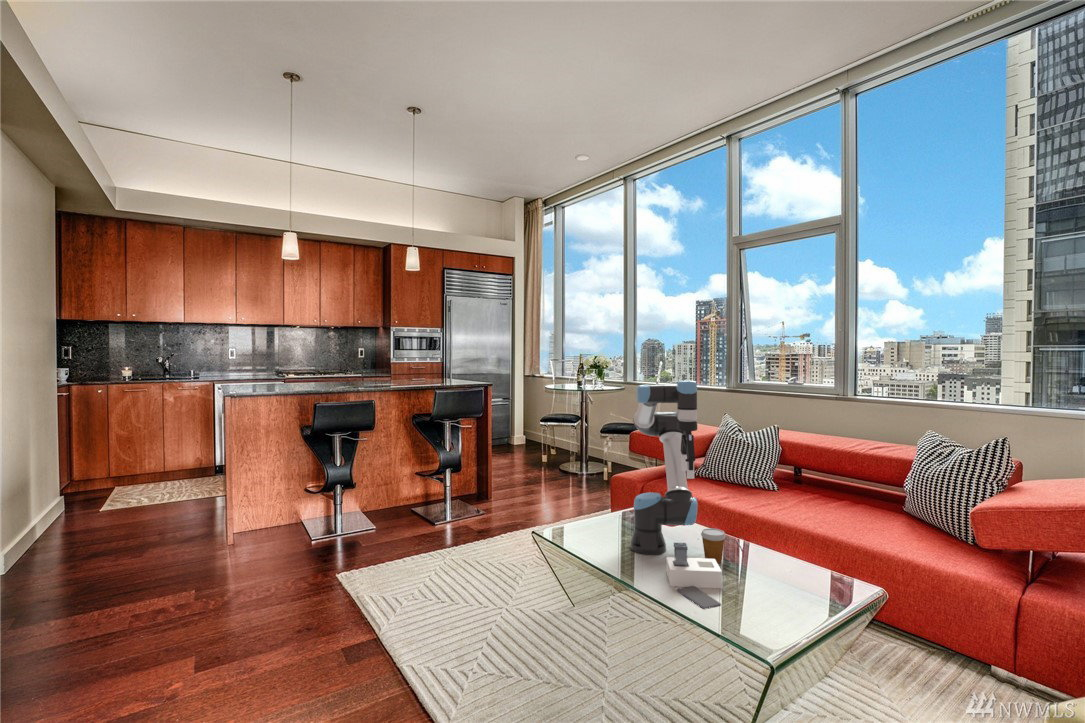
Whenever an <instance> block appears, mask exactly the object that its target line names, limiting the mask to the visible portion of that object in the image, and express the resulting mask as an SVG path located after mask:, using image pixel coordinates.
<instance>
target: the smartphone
mask: <svg viewBox="0 0 1085 723" xmlns="http://www.w3.org/2000/svg"><path fill="white" fill-rule="evenodd" d="M676 591H678V592H677V593H679V594H681V595H682V597H684V598H686V599H688V600H689V601H690V600H691V602H692V601H693V602H694V603H693V602H692V603H693V604H695V605H696V604H697V606H698V605H699V606H700V608H701V607H702V608H708V609H710V608H709V607H712V608H716V607H721V606H722V603H721V602H719V601H717V600H716V599H715V598H713V597H712V596H710V595H708V594H707V593H706V592H704V591H702V589H701V590H700V589H699V587H695V586H689V587H680V588H679V587H678V588H677V589H676ZM699 606H698V607H699ZM702 608H701V609H702Z"/></svg>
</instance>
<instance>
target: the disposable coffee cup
mask: <svg viewBox="0 0 1085 723" xmlns="http://www.w3.org/2000/svg"><path fill="white" fill-rule="evenodd" d="M700 536H701V539H702V545H703V546H702V547H703V552H704V554H703V555H704V558H708V559H715V560H716V562H717V564H718V565H720V564H722V561H723V553H724V546H725V545H724V544H725V539H726V533H725V531H724V530H721V529H719V528H713V527H712V528H708V527H707V528H703V529H702V530H701V533H700Z"/></svg>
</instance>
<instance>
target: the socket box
mask: <svg viewBox="0 0 1085 723" xmlns="http://www.w3.org/2000/svg"><path fill="white" fill-rule="evenodd" d="M665 559H666V560H665V561H666V575H667V579H668V582H669V586H670V587H675V586H677V587H678V588H679V587H680V588H684V587H689V586H695V587H696V588H698V589H699V588H701V589H702V588H703V589H705V588H706V589H723V571H722V569H721V567H720V566H719V565H720V564H717V562H716V560H715V559H708V558H705V557H687V567H681V566H675V564H674V556H666V558H665ZM677 587H676V588H677Z"/></svg>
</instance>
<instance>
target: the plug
mask: <svg viewBox="0 0 1085 723" xmlns="http://www.w3.org/2000/svg"><path fill="white" fill-rule="evenodd" d="M673 548H674V549H673V550H674V551H673V552H674V555H673V557H674V564H675V566H681V567H687V558H688V550H689V549H688V545H687V543H686V542H673Z"/></svg>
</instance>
